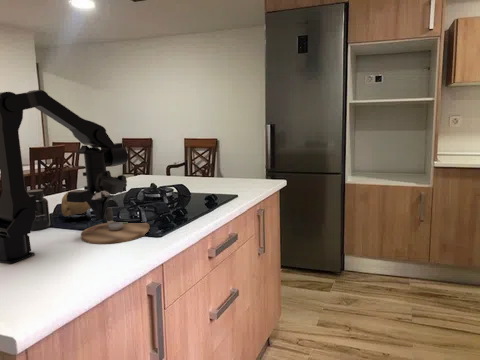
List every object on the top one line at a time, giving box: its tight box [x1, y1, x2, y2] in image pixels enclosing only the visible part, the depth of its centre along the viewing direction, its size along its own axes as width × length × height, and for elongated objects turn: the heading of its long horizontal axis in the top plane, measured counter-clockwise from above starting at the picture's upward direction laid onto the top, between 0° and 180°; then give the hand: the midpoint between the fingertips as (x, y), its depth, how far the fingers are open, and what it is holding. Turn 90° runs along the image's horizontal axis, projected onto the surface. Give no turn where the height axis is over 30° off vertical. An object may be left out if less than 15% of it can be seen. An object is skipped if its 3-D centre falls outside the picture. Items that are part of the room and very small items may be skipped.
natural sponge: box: [61, 189, 91, 217], centre depth 128 cm, size 9×9×10 cm
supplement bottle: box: [26, 189, 51, 231], centre depth 119 cm, size 7×7×12 cm
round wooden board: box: [80, 222, 150, 245], centre depth 110 cm, size 19×19×1 cm
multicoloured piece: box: [105, 206, 123, 230], centre depth 113 cm, size 10×4×5 cm, turn 32°
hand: (100, 219), depth 114 cm, fingers closed
